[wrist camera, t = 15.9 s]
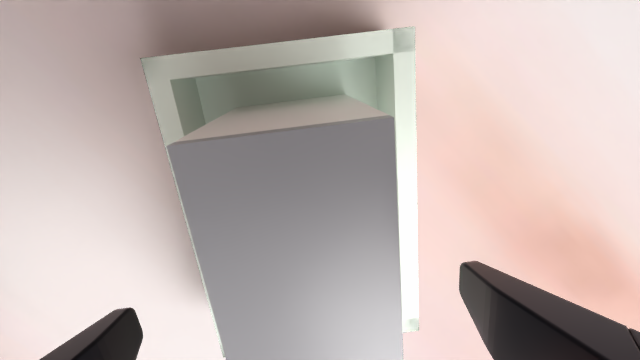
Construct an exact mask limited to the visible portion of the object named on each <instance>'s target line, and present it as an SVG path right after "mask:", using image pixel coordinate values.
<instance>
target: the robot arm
mask: <svg viewBox="0 0 640 360" xmlns="http://www.w3.org/2000/svg"><path fill="white" fill-rule="evenodd" d="M459 290H460V294H461V297H462V299H463V301H464V303H465V305H466V307H467V309H468V311H469V313H470V315H471V317H472V319H473V321H474V323H475V325H476V327H477V330H478V332H479V334H480V336H481V338H482V340H483V342H484V344H485V345H486V347H487V349H488V351H489V353H490V354H491V356H492V358H493V359H494V360H640V332H638V331H636V330H634V329H631V328H630V329H628V328H627V327H626V326H625V325H622V324H620V323H618V322H615V321H613V320H611V319H609V318H606V317H604V316H602V315H599V314H597V313H595V312H592V311H590V310H588V309H586V308H583V307H581V306H579V305H576V304H574V303H572V302H570V301H567V300H565V299H563V298H560V297H558V296H556V295H553V294H551V293H549V292H547V291H544V290H542V289H540V288H537V287H535V286H533V285H531V284H528V283H526V282H524V281H521V280H519V279H517V278H514V277H512V276H510V275H508V274H505V273H503V272H501V271H498V270H496V269H494V268H492V267H489V266H487V265H485V264H482V263H480V262H478V261H471V262H463V263H462V264H461V265H460V278H459ZM142 339H143V332H142V328H141V326H140V323H139V320H138V318H137V315H136V312H135V310H134V309H133V308H123V309H117V310H114V311H113V312H111V313H109V314H108V315H106V316H105V317H103V318H102V319H100V320H99V321H97V322H96V323H94V324H93V325H91V326H90V327H88V328H87V329H85V330H84V331H82V332H81V333H79V334H78V335H76V336H75V337H73V338H71V339H70V340H68V341H67V342H65V343H64V344H62V345H61V346H59V347H58V348H56V349H55V350H53V351H52V352H50V353H49V354H47V355H46V356H44V357H43V358H41V359H40V360H136V358H137V355H138V352H139V349H140V346H141V343H142Z"/></svg>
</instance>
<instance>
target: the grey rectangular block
mask: <svg viewBox="0 0 640 360" xmlns="http://www.w3.org/2000/svg"><path fill="white" fill-rule="evenodd" d="M167 149H168V153H169V156H170V160H171V163H172V167H173V171H174V174H175V178H176V181H177V185H178V189H179V192H180V196H181V199H182V203H183V206H184V210H185V214H186V217H187V221H188V224H189V228H190V232H191V235H192V239H193V242H194V246H195V249H196V253H197V257H198V260H199V264H200V267H201V271H202V275H203V278H204V282H205V285H206V289H207V292H208V296H209V300H210V303H211V307H212V310H213V314H214V318H215V321H216V325H217V328H218V332H219V335H220V339H221V343H222V346H223V350H224V353H225V357H226V360H403V334H402V308H401V281H400V255H399V229H398V203H397V177H396V150H395V124H394V117H392V116H390V115H388V114H386V113H384V112H382V111H380V110H377V109H375V108H373V107H371V106H369V105H367V104H365V103H363V102H361V101H358V100H356V99H354V98H352V97H350V96H348V95H346V94H343V95H334V96H326V97H318V98H310V99H302V100H294V101H286V102H278V103H270V104H262V105H254V106H245V107H237V108H235V109H233V110H231V111H229V112H227V113H226V114H224V115H222V116H220V117H218V118H217V119H215V120H213V121H211V122H209V123H207V124H206V125H204V126H202V127H200V128H198V129H197V130H195V131H193V132H191V133H189V134H187V135H186V136H184V137H182V138H180V139H178V140H177V141H175V142H173V143H171V144H169V145H167Z"/></svg>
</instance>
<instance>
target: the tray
mask: <svg viewBox="0 0 640 360" xmlns="http://www.w3.org/2000/svg"><path fill="white" fill-rule="evenodd" d="M140 59H141V63H142V66H143V70H144V74H145V77H146V81H147V84H148V88H149V92H150V95H151V99H152V102H153V106H154V110H155V113H156V117H157V120H158V124H159V128H160V131H161V135H162V138H163V142H164V146H165V149H166V153H167V156H168V160H169V164H170V167H171V171H172V174H173V178H174V182H175V185H176V189H177V192H178V196H179V200H180V203H181V207H182V210H183V214H184V218H185V221H186V225H187V228H188V232H189V236H190V239H191V243H192V246H193V250H194V254H195V257H196V261H197V264H198V268H199V272H200V275H201V279H202V282H203V286H204V290H205V293H206V297H207V300H208V304H209V308H210V311H211V315H212V318H213V322H214V326H215V329H216V333H217V336H218V340H219V344H220V347H221V351H222V354H223V357H225V353H224V350H223V346H222V343H221V339H220V335H219V332H218V328H217V325H216V321H215V318H214V314H213V310H212V307H211V303H210V300H209V296H208V292H207V289H206V285H205V282H204V278H203V275H202V271H201V267H200V264H199V260H198V257H197V253H196V249H195V246H194V242H193V239H192V235H191V232H190V228H189V224H188V221H187V217H186V214H185V210H184V206H183V203H182V199H181V196H180V192H179V189H178V185H177V181H176V178H175V174H174V171H173V167H172V163H171V160H170V156H169V153H168V149H167V145H169V144H171V143H173V142H175V141H177V140H178V139H180V138H182V137H184V136H186V135H187V134H189V133H191V132H193V131H195V130H197V129H198V128H200V127H202V126H204V125H206V124H207V123H209V122H211V121H213V120H215V119H217V118H218V117H220V116H222V115H224V114H226V113H227V112H229V111H231V110H233V109H235V108H237V107H245V106H254V105H262V104H270V103H278V102H286V101H294V100H302V99H310V98H318V97H326V96H334V95H343V94H346V95H348V96H350V97H352V98H354V99H356V100H358V101H361V102H363V103H365V104H367V105H369V106H371V107H373V108H375V109H377V110H380V111H382V112H384V113H386V114H388V115H390V116H392V117H394V124H395V150H396V177H397V203H398V229H399V255H400V281H401V308H402V333H405V332H412V331H419V302H418V223H417V143H416V64H415V26H413V27H405V28H396V29H387V30H379V31H370V32H361V33H353V34H344V35H336V36H327V37H318V38H310V39H301V40H293V41H284V42H275V43H267V44H258V45H250V46H241V47H232V48H224V49H215V50H207V51H198V52H189V53H181V54H172V55H164V56H155V57H146V58H140Z"/></svg>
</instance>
